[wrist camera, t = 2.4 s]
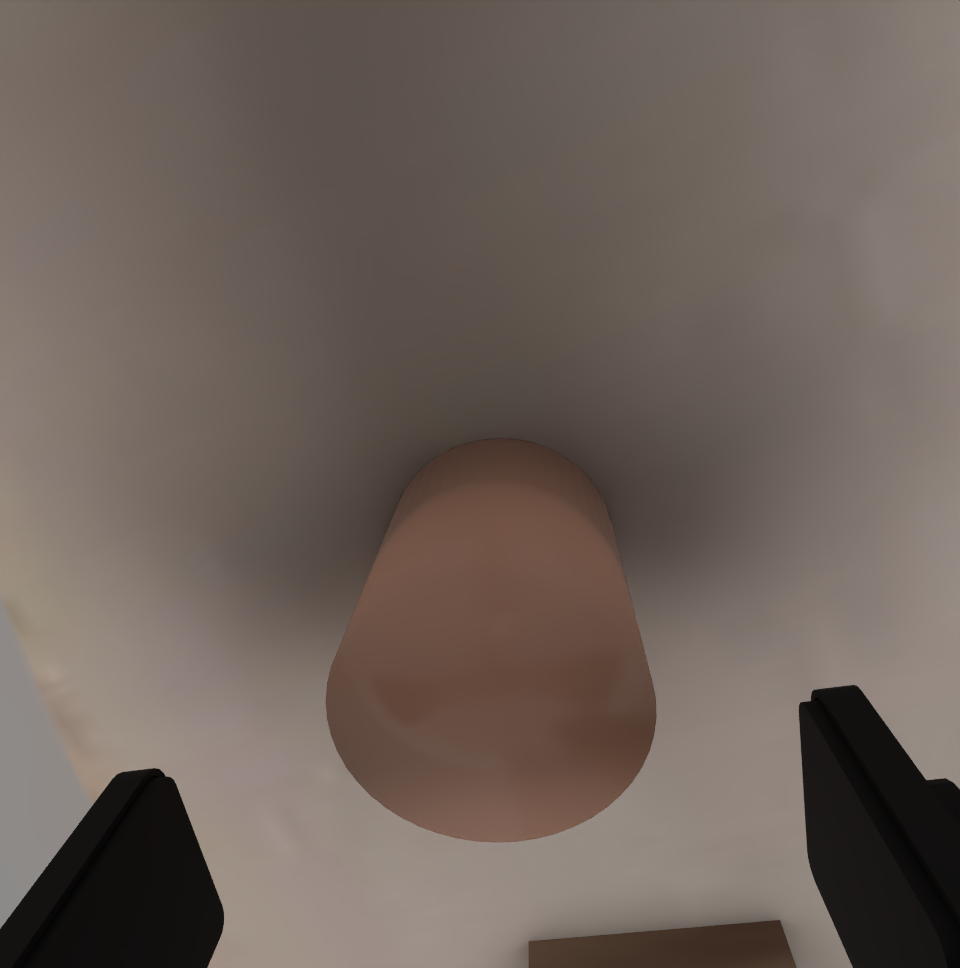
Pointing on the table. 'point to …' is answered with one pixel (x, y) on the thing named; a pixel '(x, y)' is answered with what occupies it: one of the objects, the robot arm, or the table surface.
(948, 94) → the table surface
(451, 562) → the terracotta cylinder
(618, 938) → the tower base
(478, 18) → the table surface
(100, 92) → the table surface
